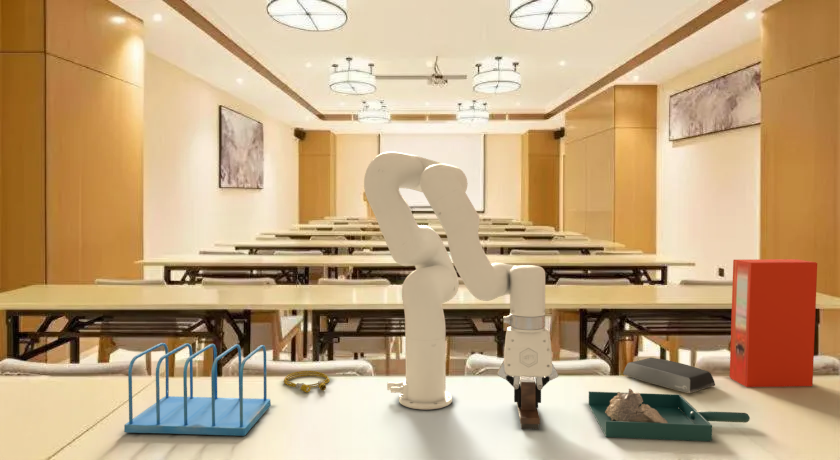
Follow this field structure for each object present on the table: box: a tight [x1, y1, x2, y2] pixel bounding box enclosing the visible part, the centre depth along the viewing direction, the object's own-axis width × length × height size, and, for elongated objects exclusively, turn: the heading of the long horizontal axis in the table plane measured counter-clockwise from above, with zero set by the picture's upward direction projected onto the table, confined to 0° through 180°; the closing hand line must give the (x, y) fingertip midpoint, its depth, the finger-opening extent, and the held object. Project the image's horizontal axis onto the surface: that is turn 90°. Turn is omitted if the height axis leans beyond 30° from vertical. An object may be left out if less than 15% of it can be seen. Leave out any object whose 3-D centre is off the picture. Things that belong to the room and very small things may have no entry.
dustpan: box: [588, 391, 751, 442], centre depth 125 cm, size 31×19×3 cm, turn 84°
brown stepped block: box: [516, 376, 541, 431], centre depth 128 cm, size 4×14×9 cm, turn 174°
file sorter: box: [123, 342, 272, 437], centre depth 126 cm, size 25×17×15 cm
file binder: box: [729, 258, 818, 388], centre depth 153 cm, size 8×17×32 cm, turn 93°
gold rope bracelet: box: [283, 370, 330, 393], centre depth 152 cm, size 12×16×2 cm
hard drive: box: [622, 357, 716, 394], centre depth 154 cm, size 13×19×4 cm
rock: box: [605, 388, 668, 423], centre depth 123 cm, size 6×14×7 cm, turn 32°
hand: (527, 404), depth 128 cm, fingers closed on brown stepped block, 3 cm apart
